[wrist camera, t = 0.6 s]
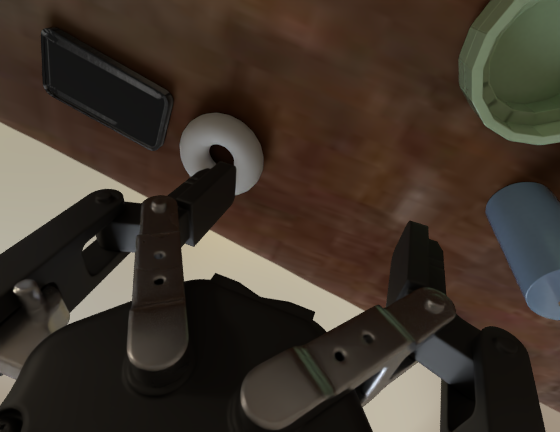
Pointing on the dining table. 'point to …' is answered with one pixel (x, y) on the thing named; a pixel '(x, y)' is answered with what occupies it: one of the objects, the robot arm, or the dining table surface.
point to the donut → (229, 136)
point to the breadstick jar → (530, 242)
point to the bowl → (515, 69)
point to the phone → (104, 89)
